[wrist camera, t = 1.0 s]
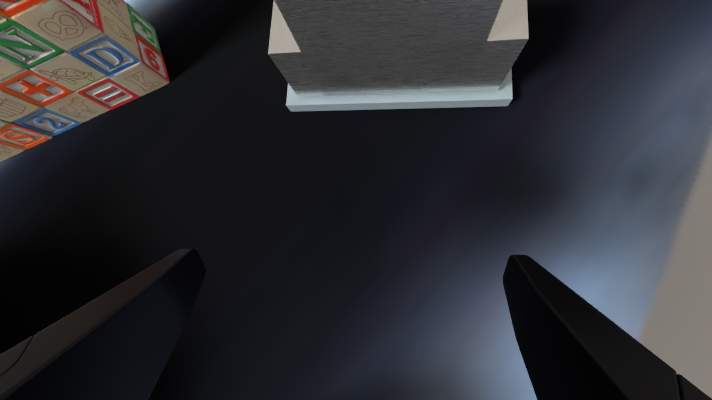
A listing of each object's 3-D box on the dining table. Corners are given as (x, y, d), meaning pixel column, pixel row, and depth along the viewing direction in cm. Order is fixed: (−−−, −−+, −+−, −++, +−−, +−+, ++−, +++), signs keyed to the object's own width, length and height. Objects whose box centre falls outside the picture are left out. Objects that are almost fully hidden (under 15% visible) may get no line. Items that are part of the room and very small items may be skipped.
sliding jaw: (497, 90, 20) (568, -29, 11) (297, 96, 22) (232, 2, 14) (496, 36, 20) (562, -115, 12) (302, 48, 23) (242, -72, 14)
